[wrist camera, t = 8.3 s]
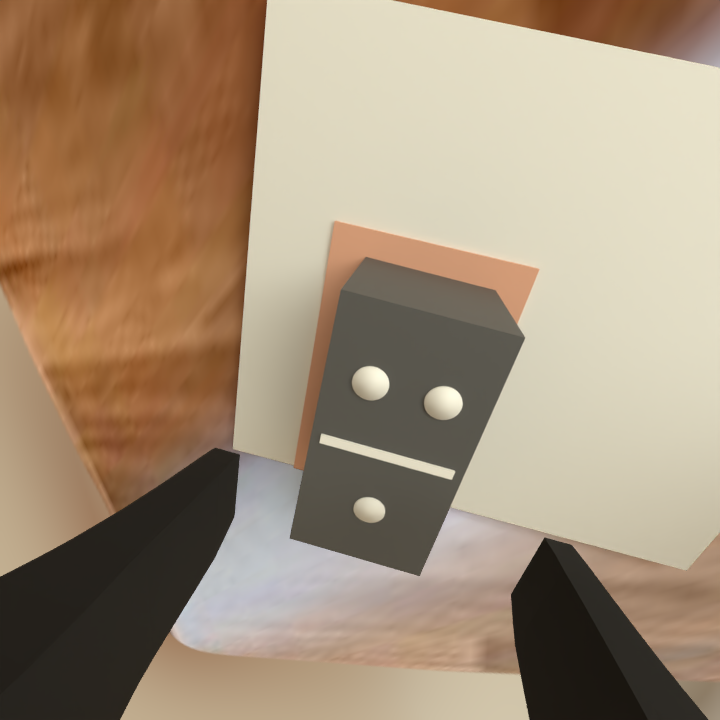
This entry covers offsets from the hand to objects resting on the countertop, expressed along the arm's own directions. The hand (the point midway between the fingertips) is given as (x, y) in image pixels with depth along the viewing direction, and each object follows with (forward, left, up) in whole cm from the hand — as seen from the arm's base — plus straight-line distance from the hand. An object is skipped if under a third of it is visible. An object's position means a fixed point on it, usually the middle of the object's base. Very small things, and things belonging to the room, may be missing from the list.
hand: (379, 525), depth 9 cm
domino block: (0, 0, -7) cm, 7 cm away
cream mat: (-4, -3, -8) cm, 9 cm away
